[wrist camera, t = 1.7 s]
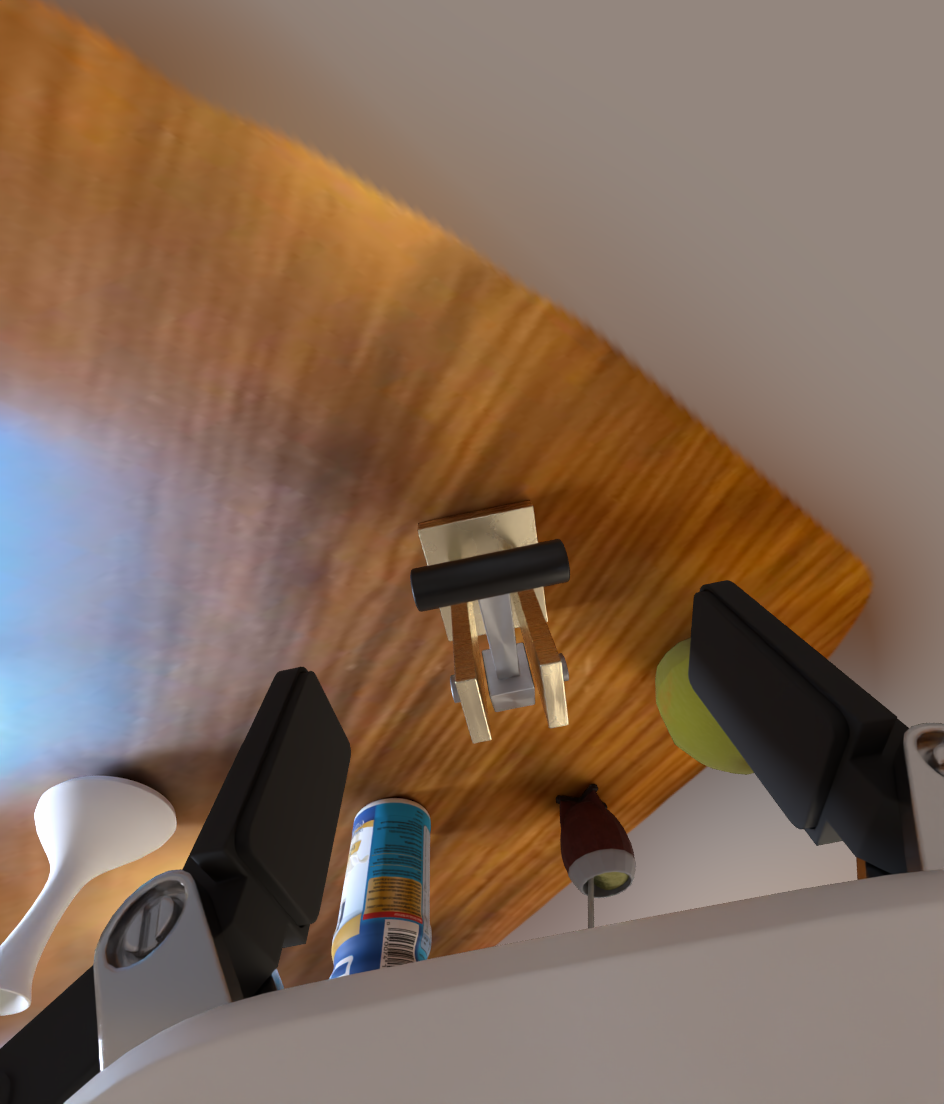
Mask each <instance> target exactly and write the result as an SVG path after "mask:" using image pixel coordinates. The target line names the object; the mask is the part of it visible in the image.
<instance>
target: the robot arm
mask: <svg viewBox="0 0 944 1104" xmlns="http://www.w3.org/2000/svg"><path fill="white" fill-rule="evenodd" d="M688 678H689V682H690V684H691V686H692V688H693V690H694V691H695V693H696V694H697V695H698V697H699V698H700V699H701V701H702V702H703V704H704V705H705V706H706V708H707V709H708V710H709V712H710V713H711V714H712V716H713V717H714V719H715V720H716V721H717V723H718V724H719V725H720V727H721V728H722V729H723V731H724V732H725V733H726V735H727V736H728V738H729V739H730V740H731V742H732V743H733V744H734V746H735V747H736V748H737V750H738V751H739V753H740V754H741V755H742V757H743V758H744V759H745V761H746V762H747V763H748V765H749V766H750V768H751V769H752V770H753V772H754V773H755V774H756V776H757V777H758V778H759V780H760V781H761V782H762V784H763V785H764V787H765V788H766V789H767V790H768V792H769V793H770V795H771V796H772V797H773V799H774V800H775V802H776V803H777V804H778V806H779V807H780V808H781V810H782V811H783V812H784V814H785V815H786V816H787V818H788V819H789V820H790V822H791V823H792V824H793V825H794V826H795V827H797V828H798V829H804V830H805V831H806V832H807V833H808V835H809V836H810V838H811V839H812V840H813V841H814V843H815V844H816V845H817V846H818V845H823V844H829V843H833V842H839V841H843V842H844V843H845V844H846V845H847V846H848V848H849V849H850V850H851V851H852V853H853V854H854V855H855V856H856V858H857V878H858V880H855V881H848V882H842V883H836V884H830V885H824V886H818V887H812V888H805V889H800V890H794V891H788V892H783V893H777V894H772V895H767V896H761V897H756V898H750V899H745V900H739V901H734V902H729V903H723V904H718V905H712V906H707V907H702V908H696V909H690V910H685V911H680V912H674V913H669V914H664V915H658V916H653V917H648V918H642V919H637V920H631V921H626V922H621V923H616V924H610V925H606V926H600V927H595V928H589V929H584V930H579V931H573V932H568V933H563V934H557V935H553V936H547V937H542V938H537V939H531V940H526V941H521V942H516V943H510V944H505V945H500V946H494V947H489V948H484V949H479V950H474V951H469V952H464V953H459V954H453V955H448V956H443V957H438V958H433V959H428V960H423V961H418V962H413V963H407V964H402V965H397V966H392V967H387V968H382V969H377V970H372V971H366V972H361V973H356V974H351V975H347V976H342V977H338V978H333V979H328V980H324V981H319V982H315V983H310V984H305V985H301V986H296V987H292V988H287V989H284V986H283V984H282V981H281V979H280V976H279V974H278V971H277V969H276V968H277V967H278V963H279V959H280V955H281V951H282V948H285V947H291V946H296V945H301V944H306V940H307V936H308V931H309V926H310V924H312V923H314V922H315V921H316V920H317V917H318V915H319V911H320V906H321V901H322V896H323V892H324V887H325V882H326V877H327V872H328V867H329V862H330V857H331V852H332V847H333V842H334V837H335V832H336V827H337V822H338V817H339V812H340V807H341V802H342V797H343V792H344V788H345V783H346V778H347V773H348V768H349V763H350V757H351V748H350V743H349V741H348V739H347V737H346V735H345V733H344V731H343V729H342V727H341V725H340V723H339V721H338V719H337V717H336V715H335V713H334V711H333V709H332V707H331V705H330V703H329V701H328V699H327V697H326V695H325V693H324V691H323V689H322V687H321V685H320V683H319V681H318V679H317V677H316V675H315V673H314V672H313V671H309V672H308V671H307V669H306V668H304V667H298V668H293V669H288V670H283V671H279V672H278V673H277V674H276V675H275V677H274V679H273V681H272V683H271V686H270V688H269V690H268V692H267V694H266V696H265V698H264V700H263V702H262V705H261V707H260V709H259V711H258V713H257V715H256V717H255V719H254V721H253V724H252V726H251V728H250V730H249V732H248V734H247V736H246V738H245V740H244V742H243V744H242V746H241V748H240V750H239V752H238V754H237V756H236V758H235V760H234V762H233V765H232V767H231V769H230V771H229V773H228V775H227V777H226V779H225V781H224V783H223V786H222V788H221V790H220V792H219V794H218V796H217V798H216V800H215V802H214V804H213V807H212V809H211V811H210V813H209V815H208V817H207V819H206V821H205V823H204V825H203V828H202V830H201V832H200V834H199V836H198V838H197V840H196V842H195V844H194V847H193V849H192V851H191V853H190V855H189V857H188V859H187V861H186V863H185V865H184V868H183V870H171V871H167V872H165V873H162V874H160V875H158V876H155V877H154V878H152V879H151V880H149V881H148V882H146V883H145V884H143V885H142V886H140V887H139V888H138V889H137V890H136V891H135V892H134V893H133V894H132V895H131V896H129V897H128V898H127V899H126V900H125V901H124V903H123V904H122V905H121V906H120V907H119V909H118V910H117V911H116V912H115V913H114V915H113V916H112V918H111V919H110V921H109V922H108V924H107V926H106V927H105V929H104V931H103V932H102V934H101V937H100V939H99V942H98V944H97V947H96V949H95V956H94V964H93V966H92V967H90V968H89V969H88V970H87V971H86V972H85V973H84V974H83V975H82V976H80V977H79V978H78V979H77V980H76V981H75V982H74V983H73V984H72V985H70V986H69V987H68V988H67V989H66V990H65V991H64V992H63V993H62V994H61V995H59V996H58V997H57V998H56V999H55V1000H54V1001H53V1002H52V1003H51V1004H49V1005H48V1006H47V1007H46V1008H45V1009H44V1010H43V1011H42V1012H41V1013H39V1014H38V1015H37V1016H36V1017H35V1018H34V1019H33V1020H32V1021H31V1022H29V1023H28V1024H27V1025H26V1026H25V1027H24V1028H23V1029H22V1030H21V1031H19V1032H18V1033H17V1034H16V1035H15V1036H14V1037H13V1038H12V1039H11V1040H9V1041H8V1042H7V1043H6V1044H5V1045H4V1046H3V1047H2V1048H1V1049H0V1104H944V724H942V723H922V724H918V725H915V726H911V728H908V727H907V726H906V725H904V724H903V723H902V722H901V721H900V720H898V719H897V716H895V715H894V714H893V713H892V712H891V711H889V710H888V709H887V708H886V707H884V706H883V705H882V704H881V703H880V702H878V701H877V700H876V699H875V698H873V697H872V696H871V695H870V694H869V693H867V692H866V691H865V690H864V689H862V688H861V687H860V686H859V685H858V684H856V683H855V682H854V681H853V680H851V679H850V678H849V677H848V676H847V675H845V674H844V673H843V672H842V671H841V670H839V669H838V668H837V667H836V666H834V665H833V664H832V663H831V662H829V661H828V660H827V659H826V658H825V657H823V656H822V655H821V654H820V653H819V652H817V651H816V650H815V649H814V648H812V647H811V646H810V645H809V644H808V643H806V642H805V641H804V640H803V639H801V638H800V637H799V636H798V635H797V634H795V633H794V632H793V631H792V630H791V629H789V628H788V627H787V626H786V625H784V624H783V623H782V622H781V621H780V620H778V619H777V618H776V617H775V616H773V615H772V614H771V613H770V612H769V611H767V610H766V609H765V608H764V607H762V606H761V605H760V604H759V603H758V602H756V601H755V600H754V599H753V598H751V597H750V596H749V595H748V594H747V593H745V592H744V591H743V590H742V589H740V588H739V587H738V586H737V585H736V584H734V583H733V582H731V581H728V580H726V581H721V582H716V583H711V584H706V585H703V586H702V587H701V588H700V592H698V593H696V594H695V595H694V601H693V615H692V628H691V641H690V654H689V668H688Z"/></svg>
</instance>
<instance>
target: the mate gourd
mask: <svg viewBox="0 0 944 1104" xmlns="http://www.w3.org/2000/svg"><path fill="white" fill-rule="evenodd" d="M597 790H598V787H597V785H594V784H591V785H590V786H589V787H588V788H587V790H586V791H585V792H584V793H583V795H582V796H581V797H580V798H573V797H567V796H561V795H558V796H557V797H556V803H558V804H560V824H561V839H560V840H561V854H562V859H563V863H564V866H565V868H566V870H567V872H568V875H569V877H570V879H571V880H572V882H573V883H574V885H575V886H576V887H577V888H578V889H579V890H580V891H581V892H582V893H583V894H584V895H587V896H588V929H589V928H594V898H604V897H610V896H613V895H617V894H619V893H621V892H623V891H625V890H626V889H627V888H628V887H629V886H630V885H631V884H632V881H633V879H634V874H635V867H636V862H635V860H634V852H633V849H632V845H631V842H630V840H629V838H628V836H627V834H626V832H625V830H624V828H623V827H622V825H621V824H620V822H619V821H618V820H617V818H616V817H615V816H614V815H613V814H612V813H611V812H610V811H609V810H607V806H606V804H605V803H603V802H602V801H601V800H600V798H599V796H598V795H597V793H596V792H597Z"/></svg>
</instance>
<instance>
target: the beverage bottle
mask: <svg viewBox="0 0 944 1104" xmlns="http://www.w3.org/2000/svg"><path fill="white" fill-rule="evenodd" d="M430 831H431V821H430V816H429V814H428V812H427V811H426V809H425V808H424V807H423V806H421V805H420V804H418V803H416V802H414V801H411V800H407V799H402V798H387V799H382V800H378V801H375V802H372V803H370V804H368V805H367V806H365V807H364V808H363V809H361V810H360V812H359V813H358V814H357V816H356V818H355V821H354V826H353V833H352V840H351V847H350V853H349V859H348V864H347V870H346V876H345V882H344V888H343V894H342V899H341V905H340V911H339V917H338V923H337V928H336V931H335V933H334V937H333V942H332V959H333V963H334V970H333V973H332V975H331V976H330V978H329V979H333V978H338V977H342V976H347V975H351V974H356V973H361V972H366V971H372V970H377V969H382V968H387V967H392V966H397V965H402V964H407V963H413V962H418V961H423V960H427V958H428V955H429V952H430V949H431V926H430V923H429V899H430Z"/></svg>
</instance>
